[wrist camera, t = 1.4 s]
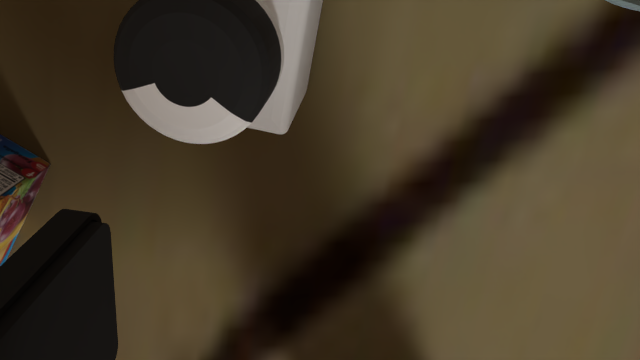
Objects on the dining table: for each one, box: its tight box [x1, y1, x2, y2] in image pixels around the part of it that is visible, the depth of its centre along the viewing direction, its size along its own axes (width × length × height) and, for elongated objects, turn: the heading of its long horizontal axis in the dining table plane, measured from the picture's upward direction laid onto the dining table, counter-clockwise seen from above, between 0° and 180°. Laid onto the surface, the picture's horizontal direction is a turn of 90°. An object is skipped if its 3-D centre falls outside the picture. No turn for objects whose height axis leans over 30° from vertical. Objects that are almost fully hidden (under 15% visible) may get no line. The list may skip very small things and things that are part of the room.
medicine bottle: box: [114, 0, 323, 144], centre depth 27 cm, size 7×7×12 cm
